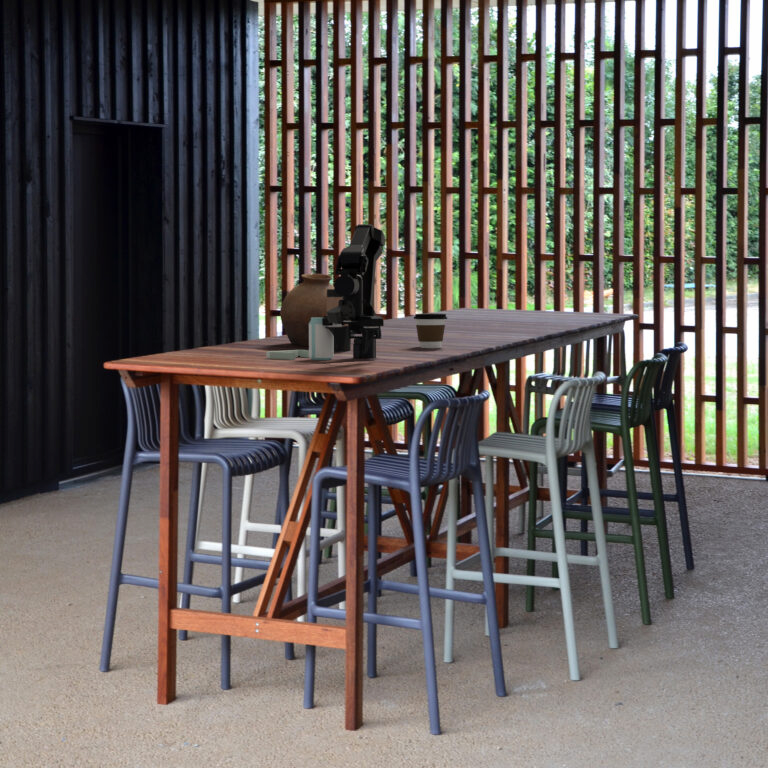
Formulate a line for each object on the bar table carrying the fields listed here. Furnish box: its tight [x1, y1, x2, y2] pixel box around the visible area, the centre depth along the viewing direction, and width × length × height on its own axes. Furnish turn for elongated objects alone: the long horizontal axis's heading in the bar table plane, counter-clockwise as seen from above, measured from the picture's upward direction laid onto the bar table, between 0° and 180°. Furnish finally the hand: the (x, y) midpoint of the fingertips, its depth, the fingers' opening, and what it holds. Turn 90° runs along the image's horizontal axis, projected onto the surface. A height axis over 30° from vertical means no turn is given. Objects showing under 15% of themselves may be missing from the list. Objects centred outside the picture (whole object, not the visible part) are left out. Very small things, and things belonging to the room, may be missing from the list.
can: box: [308, 318, 335, 361], centre depth 361 cm, size 7×7×12 cm
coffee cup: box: [413, 313, 448, 349], centre depth 408 cm, size 11×11×12 cm
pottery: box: [279, 273, 334, 347], centre depth 411 cm, size 23×23×25 cm
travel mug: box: [327, 289, 352, 352], centre depth 395 cm, size 8×8×20 cm
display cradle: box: [265, 349, 309, 361], centre depth 368 cm, size 13×10×2 cm
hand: (352, 352), depth 353 cm, fingers open, 9 cm apart
